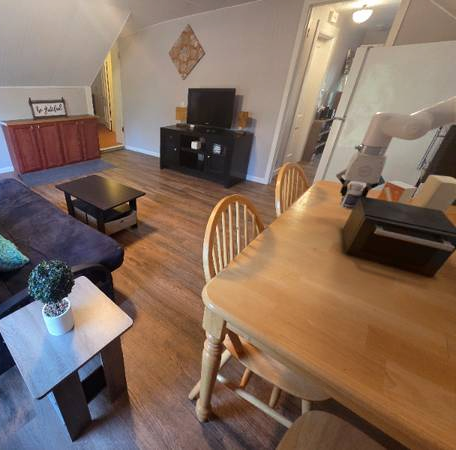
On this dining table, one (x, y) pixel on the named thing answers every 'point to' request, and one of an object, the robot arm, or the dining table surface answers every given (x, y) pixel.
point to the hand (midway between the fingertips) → (351, 196)
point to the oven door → (402, 245)
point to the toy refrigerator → (436, 193)
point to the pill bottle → (351, 196)
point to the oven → (395, 216)
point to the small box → (397, 192)
